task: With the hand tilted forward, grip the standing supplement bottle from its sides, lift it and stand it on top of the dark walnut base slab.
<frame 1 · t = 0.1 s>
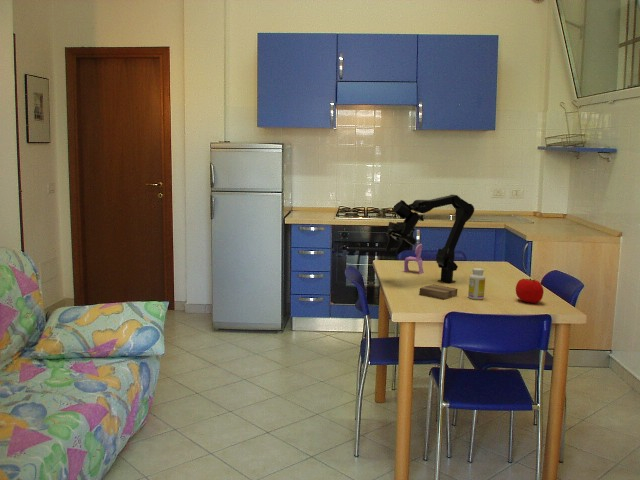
hand: (391, 252, 327), 15 cm above the table, tool tilted 35°, fingers open, 9 cm apart
supplement bottle: (475, 298, 308), on the table
tomato: (528, 302, 306), on the table
base: (438, 295, 311), on the table
toy chair: (413, 272, 362), on the table
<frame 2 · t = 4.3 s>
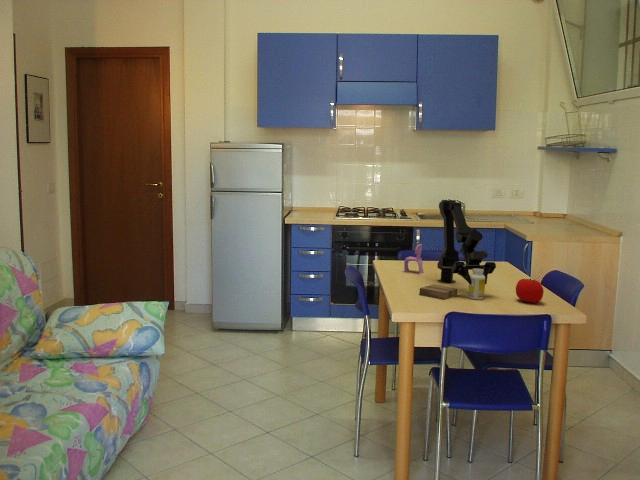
hand: (478, 283, 306), 7 cm above the table, tool tilted 45°, fingers closed on supplement bottle, 7 cm apart
supplement bottle: (475, 298, 308), on the table, touching gripper
everything else where it was.
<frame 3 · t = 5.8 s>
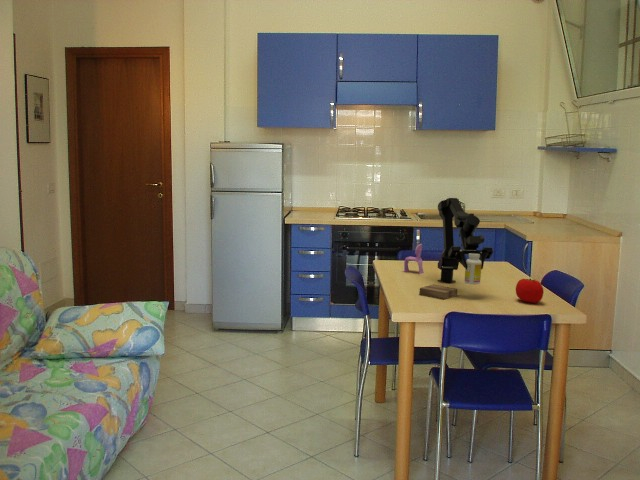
hand: (474, 268, 305), 13 cm above the table, tool tilted 45°, fingers closed on supplement bottle, 7 cm apart
supplement bottle: (472, 283, 308), point 6 cm above the table, touching gripper
everything else where it was.
when the fingers open (10 cm above the table, at t = 7.5 s): supplement bottle stays where it is, resting on base.
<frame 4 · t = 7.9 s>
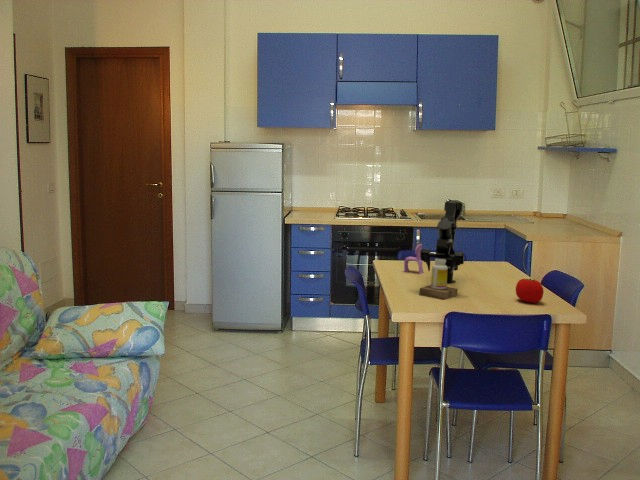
hand: (439, 272, 308), 11 cm above the table, tool tilted 45°, fingers open, 9 cm apart
supplement bottle: (438, 288, 310), point 3 cm above the table, touching base
everything else where it was.
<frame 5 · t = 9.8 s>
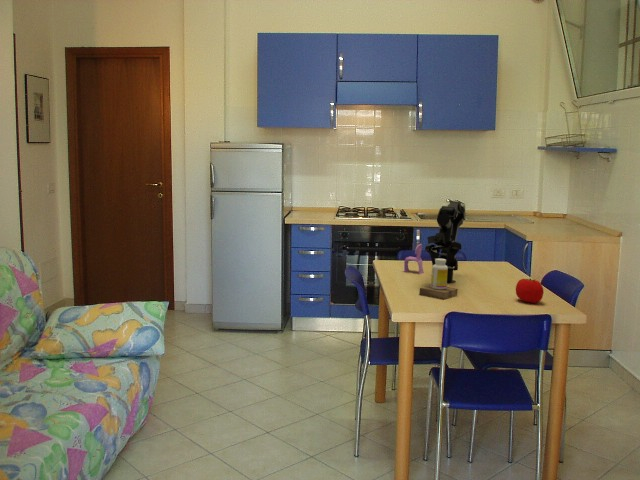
hand: (440, 265, 321), 11 cm above the table, tool tilted 25°, fingers open, 9 cm apart
nothing on the table moved.
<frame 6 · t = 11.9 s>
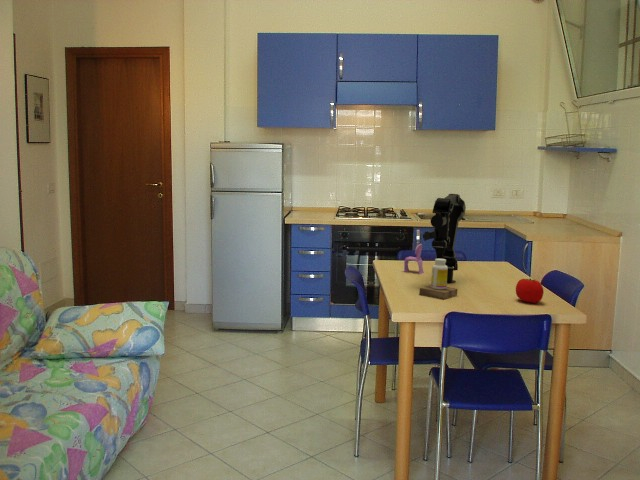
hand: (439, 259, 325), 13 cm above the table, tool pointing down, fingers open, 9 cm apart
nothing on the table moved.
at the end: supplement bottle inside the target area on the base (0.1 cm from its centre), point 2.8 cm above the base's base; supplement bottle tilted 0°; the gripper is holding nothing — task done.
